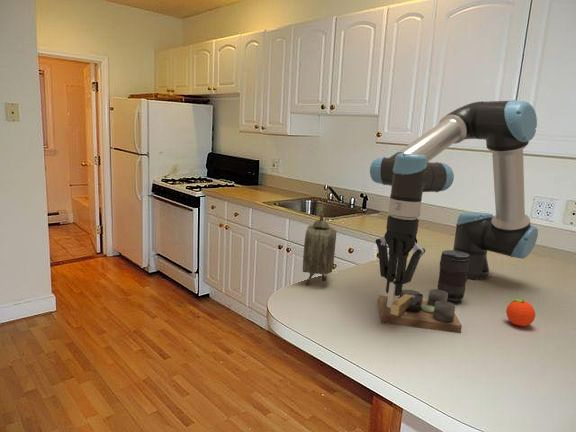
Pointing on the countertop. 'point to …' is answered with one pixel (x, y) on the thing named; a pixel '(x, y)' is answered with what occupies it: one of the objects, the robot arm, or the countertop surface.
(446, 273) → the camera lens
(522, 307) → the tomato
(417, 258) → the robot arm
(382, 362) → the countertop surface
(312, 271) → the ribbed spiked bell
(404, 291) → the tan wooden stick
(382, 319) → the base
